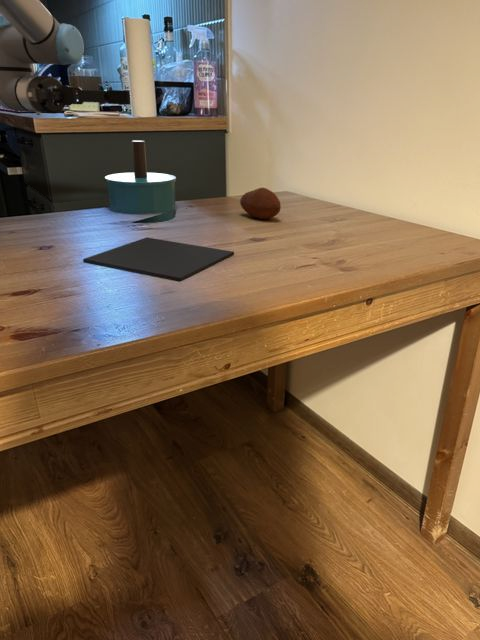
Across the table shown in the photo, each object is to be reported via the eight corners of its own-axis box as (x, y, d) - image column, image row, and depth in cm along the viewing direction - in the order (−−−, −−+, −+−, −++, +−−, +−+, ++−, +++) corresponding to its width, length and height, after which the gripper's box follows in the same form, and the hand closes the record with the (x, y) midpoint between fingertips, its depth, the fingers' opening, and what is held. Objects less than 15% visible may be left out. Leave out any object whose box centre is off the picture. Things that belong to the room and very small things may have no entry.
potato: (251, 211, 116) (252, 182, 113) (289, 220, 109) (291, 189, 106) (232, 215, 112) (233, 185, 109) (271, 224, 105) (272, 192, 102)
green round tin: (97, 217, 105) (93, 180, 102) (138, 207, 116) (135, 173, 113) (150, 226, 100) (147, 187, 97) (187, 214, 111) (186, 179, 108)
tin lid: (90, 184, 102) (84, 140, 98) (135, 176, 114) (132, 137, 110) (148, 191, 96) (145, 145, 93) (189, 182, 108) (188, 141, 105)
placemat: (83, 262, 77) (82, 258, 77) (147, 240, 90) (146, 237, 90) (180, 281, 71) (180, 277, 70) (234, 254, 84) (234, 251, 83)
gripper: (90, 112, 124) (149, 116, 114) (-8, 113, 106) (52, 117, 95) (86, 78, 121) (146, 79, 110) (-16, 72, 103) (45, 73, 92)
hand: (103, 97), depth 103 cm, fingers open, 13 cm apart
